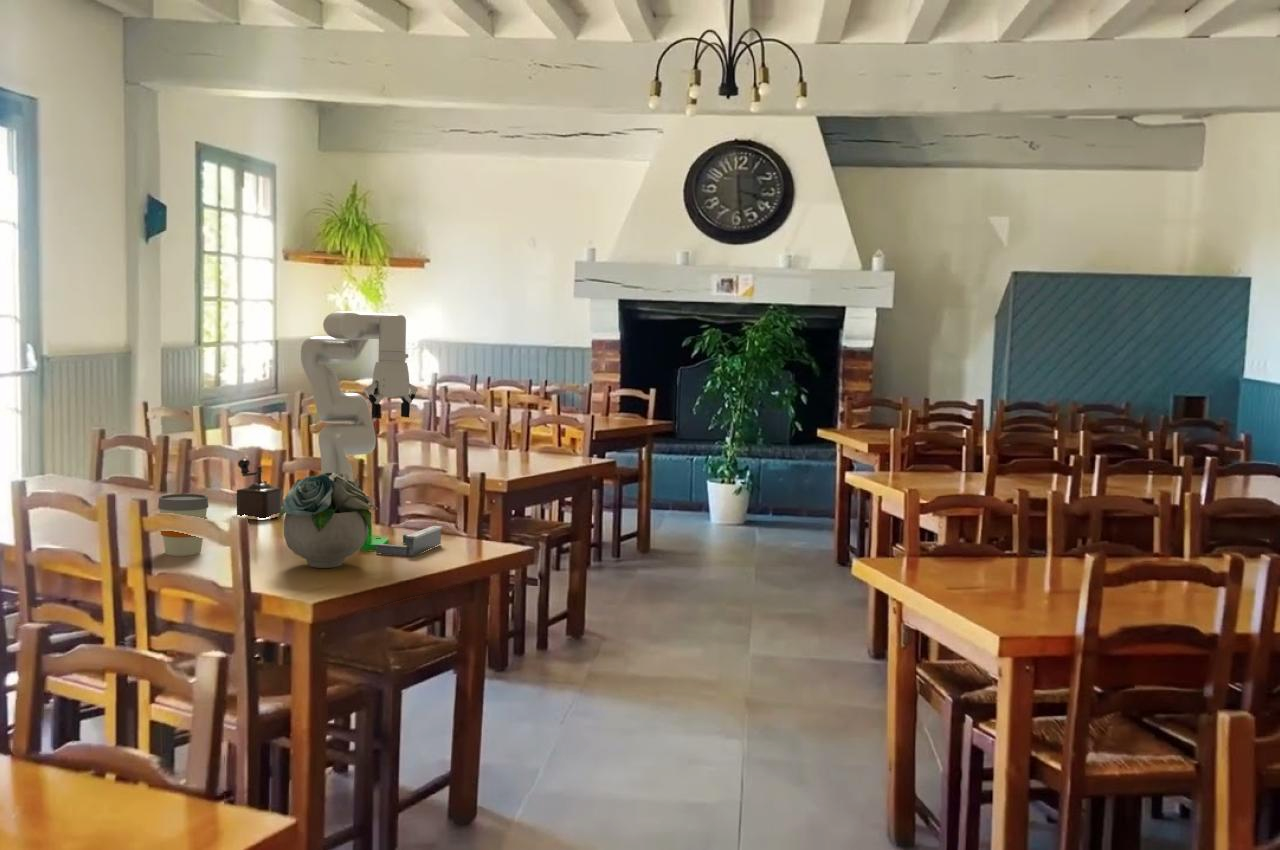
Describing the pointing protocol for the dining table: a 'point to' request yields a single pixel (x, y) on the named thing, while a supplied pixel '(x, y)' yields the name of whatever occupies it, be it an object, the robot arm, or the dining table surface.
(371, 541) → the mechanical part
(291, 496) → the flower arrangement
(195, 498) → the reusable coffee cup
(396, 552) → the steel bracket
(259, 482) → the manual coffee grinder
